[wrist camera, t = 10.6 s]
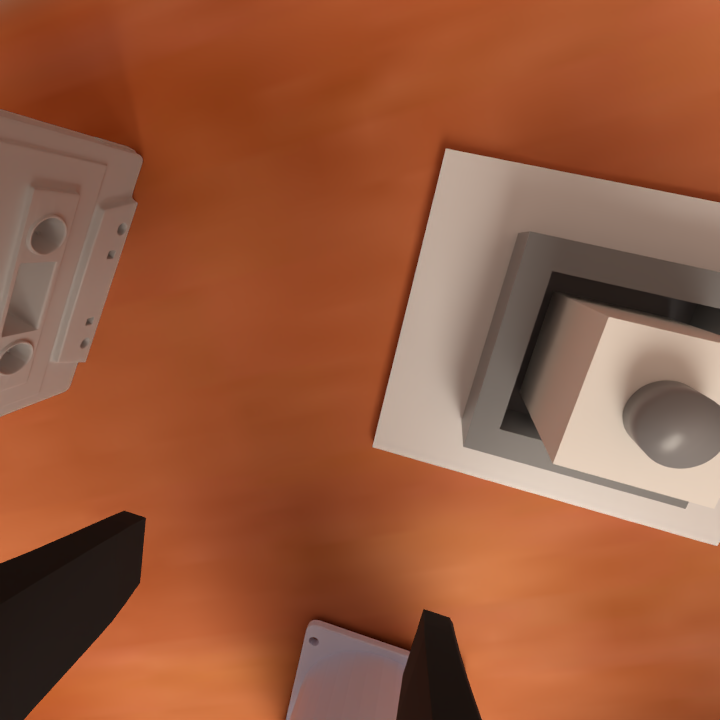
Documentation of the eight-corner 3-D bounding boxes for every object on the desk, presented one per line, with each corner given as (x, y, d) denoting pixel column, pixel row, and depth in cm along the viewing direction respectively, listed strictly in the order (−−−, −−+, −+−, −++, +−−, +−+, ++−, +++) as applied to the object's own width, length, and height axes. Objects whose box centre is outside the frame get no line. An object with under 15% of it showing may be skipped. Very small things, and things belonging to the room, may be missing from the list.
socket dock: (711, 539, 18) (759, 593, 15) (373, 443, 20) (361, 475, 17) (871, 234, 15) (968, 233, 12) (446, 150, 16) (445, 132, 14)
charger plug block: (625, 419, 17) (738, 533, 10) (519, 391, 18) (561, 482, 11) (668, 317, 16) (825, 371, 9) (553, 291, 16) (623, 323, 10)
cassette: (118, 139, 19) (-93, 74, 11) (156, 161, 19) (-32, 108, 11) (46, 377, 22) (-148, 442, 15) (78, 396, 22) (-102, 470, 15)
